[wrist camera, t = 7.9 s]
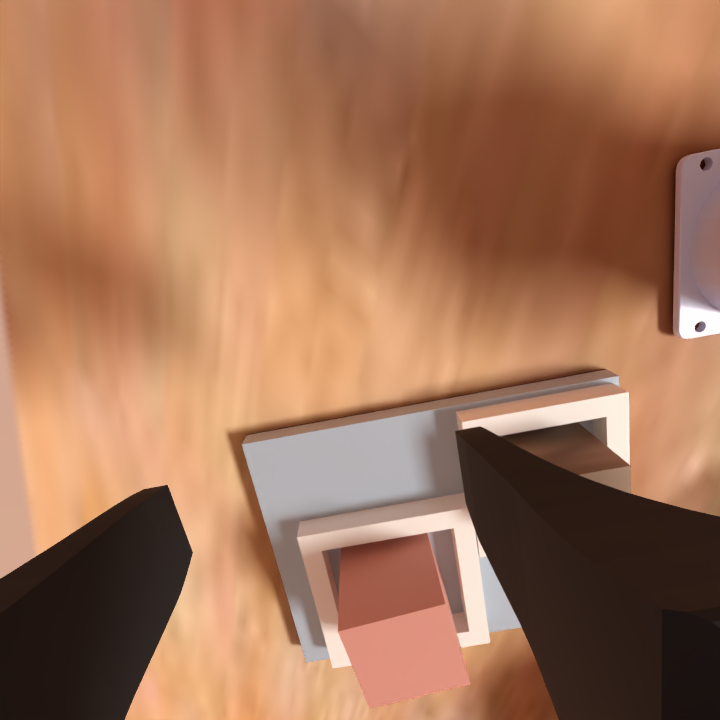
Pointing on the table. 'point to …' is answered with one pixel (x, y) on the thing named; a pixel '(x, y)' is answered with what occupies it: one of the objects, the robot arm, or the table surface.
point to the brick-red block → (398, 621)
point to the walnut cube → (576, 453)
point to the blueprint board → (405, 494)
